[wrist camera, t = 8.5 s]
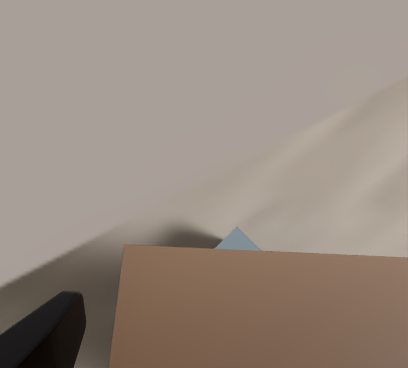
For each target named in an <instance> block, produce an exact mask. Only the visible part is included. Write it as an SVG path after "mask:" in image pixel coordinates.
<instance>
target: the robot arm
mask: <svg viewBox="0 0 408 368" xmlns="http://www.w3.org/2000/svg"><path fill="white" fill-rule="evenodd" d="M85 327H86V315H85V308H84V301H83V296H82V294H81V293H80V292H77V291H63V292H61V293H59V294H58V295H56V296H55V297H53V298H52V299H50V300H49V301H48V302H46V303H45V304H43V305H42V306H41V307H39V308H38V309H36V310H35V311H33V312H32V313H31V314H29V315H28V316H26V317H25V318H23V319H22V320H21V321H19V322H18V323H16V324H15V325H14V326H12V327H11V328H9V329H8V330H6V331H5V332H4V333H2V334H1V335H0V368H74V365H75V361H76V358H77V355H78V351H79V348H80V345H81V341H82V338H83V335H84V331H85Z"/></svg>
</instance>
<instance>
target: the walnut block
mask: <svg viewBox="0 0 408 368" xmlns="http://www.w3.org/2000/svg"><path fill="white" fill-rule="evenodd" d="M108 368H408V258H405V257H384V256H362V255H340V254H318V253H297V252H275V251H253V250H231V249H210V248H188V247H166V246H144V245H124V250H123V258H122V266H121V274H120V281H119V289H118V297H117V305H116V313H115V320H114V328H113V336H112V344H111V352H110V359H109V367H108Z"/></svg>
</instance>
